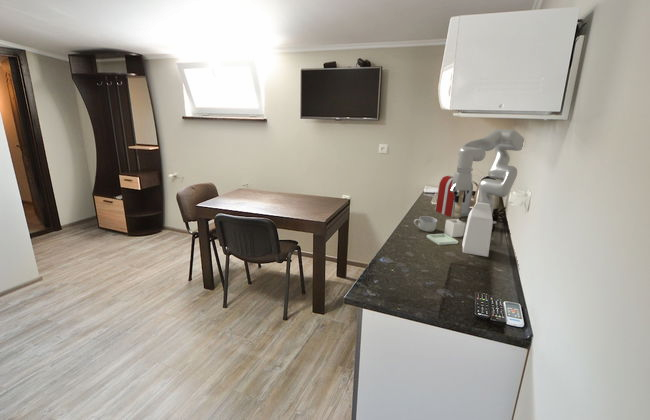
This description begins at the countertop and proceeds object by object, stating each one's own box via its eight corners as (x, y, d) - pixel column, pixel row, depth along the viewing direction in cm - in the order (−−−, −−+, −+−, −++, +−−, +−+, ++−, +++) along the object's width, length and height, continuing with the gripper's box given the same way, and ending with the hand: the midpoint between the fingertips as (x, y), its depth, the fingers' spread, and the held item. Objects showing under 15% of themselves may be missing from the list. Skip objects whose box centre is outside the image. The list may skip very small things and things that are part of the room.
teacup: (433, 228, 204) (435, 216, 202) (437, 234, 194) (439, 221, 192) (411, 227, 205) (412, 215, 203) (413, 232, 195) (415, 220, 193)
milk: (462, 252, 169) (471, 204, 162) (461, 244, 179) (469, 199, 172) (488, 256, 165) (497, 207, 158) (485, 248, 175) (494, 202, 168)
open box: (454, 233, 198) (456, 219, 195) (462, 237, 191) (465, 223, 188) (443, 233, 195) (446, 219, 193) (451, 238, 188) (454, 223, 186)
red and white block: (451, 209, 251) (456, 174, 243) (469, 215, 236) (475, 179, 228) (434, 210, 244) (439, 175, 237) (451, 217, 229) (457, 180, 221)
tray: (444, 237, 190) (444, 233, 190) (457, 244, 179) (458, 241, 179) (426, 238, 187) (426, 234, 186) (438, 246, 176) (439, 242, 175)
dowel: (457, 216, 192) (461, 189, 188) (461, 218, 189) (465, 191, 184) (452, 216, 191) (456, 190, 187) (456, 218, 188) (460, 191, 183)
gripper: (471, 169, 188) (466, 199, 193) (447, 169, 183) (442, 201, 189) (481, 171, 181) (475, 203, 186) (455, 172, 176) (451, 204, 182)
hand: (459, 201), depth 187 cm, fingers closed on dowel, 3 cm apart
